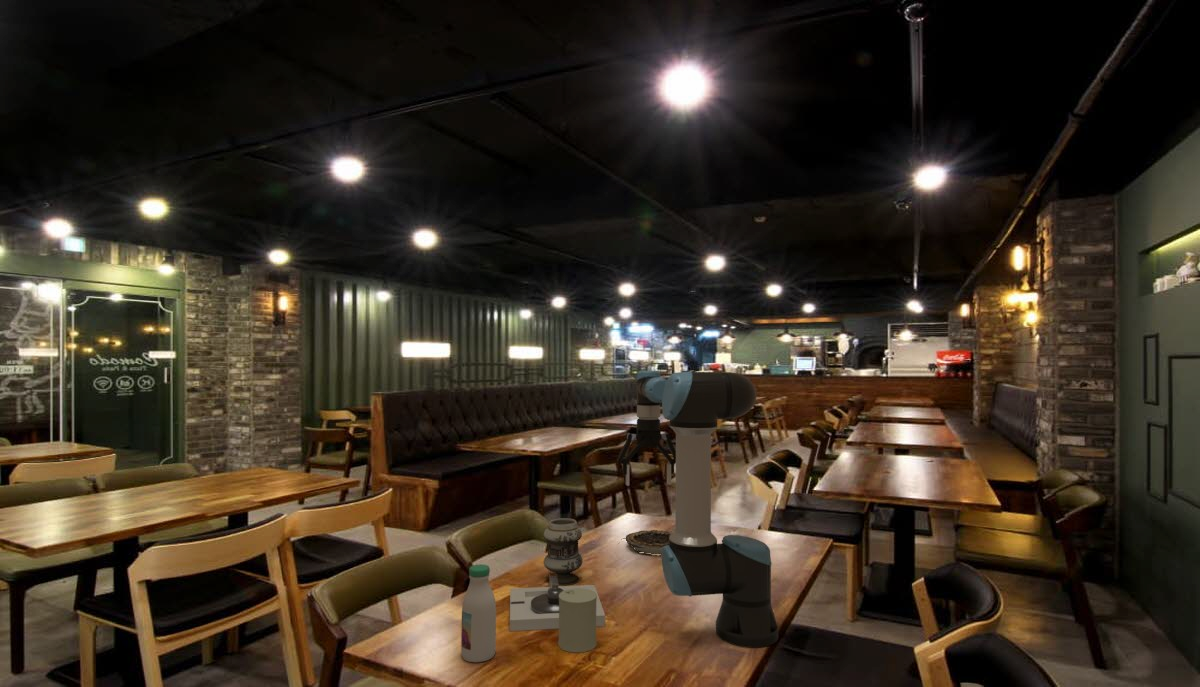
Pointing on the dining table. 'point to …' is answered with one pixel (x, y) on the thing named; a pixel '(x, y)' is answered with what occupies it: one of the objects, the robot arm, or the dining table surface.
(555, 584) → the dial
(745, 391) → the robot arm
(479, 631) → the milk bottle
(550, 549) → the apothecary jar
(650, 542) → the pie
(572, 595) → the can
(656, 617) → the dining table surface
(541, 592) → the panel
